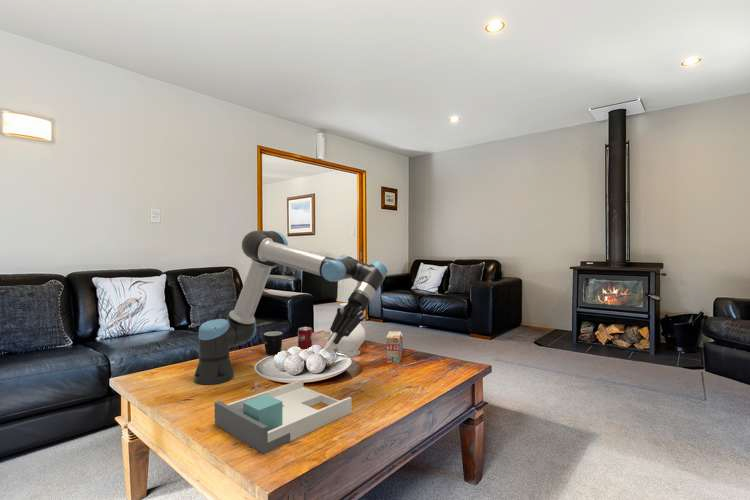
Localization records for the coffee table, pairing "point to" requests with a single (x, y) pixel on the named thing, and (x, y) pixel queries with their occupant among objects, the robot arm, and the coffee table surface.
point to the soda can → (304, 337)
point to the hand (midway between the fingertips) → (327, 350)
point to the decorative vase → (351, 340)
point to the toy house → (394, 347)
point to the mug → (273, 342)
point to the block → (265, 411)
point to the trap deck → (294, 416)
